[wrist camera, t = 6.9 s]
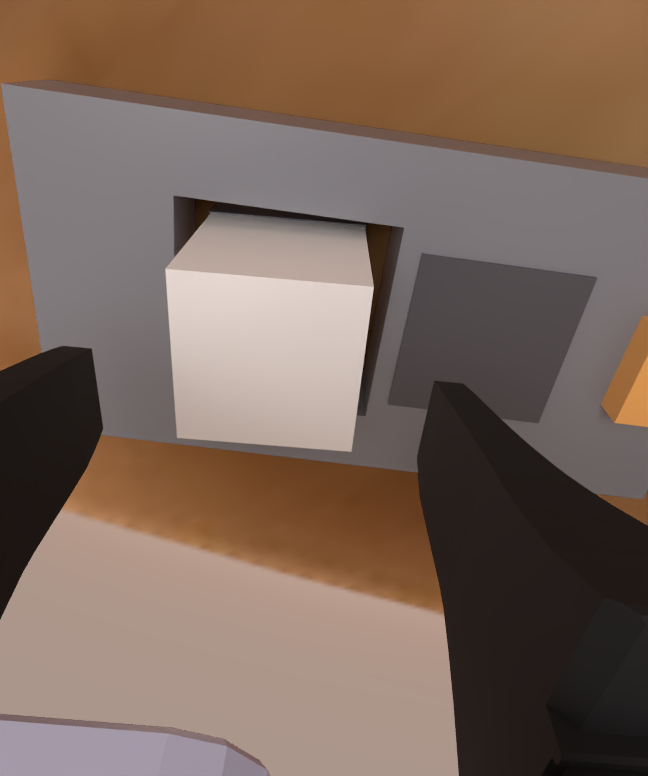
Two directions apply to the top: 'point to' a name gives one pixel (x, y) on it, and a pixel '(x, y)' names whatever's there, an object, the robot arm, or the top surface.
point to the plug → (269, 328)
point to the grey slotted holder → (399, 280)
